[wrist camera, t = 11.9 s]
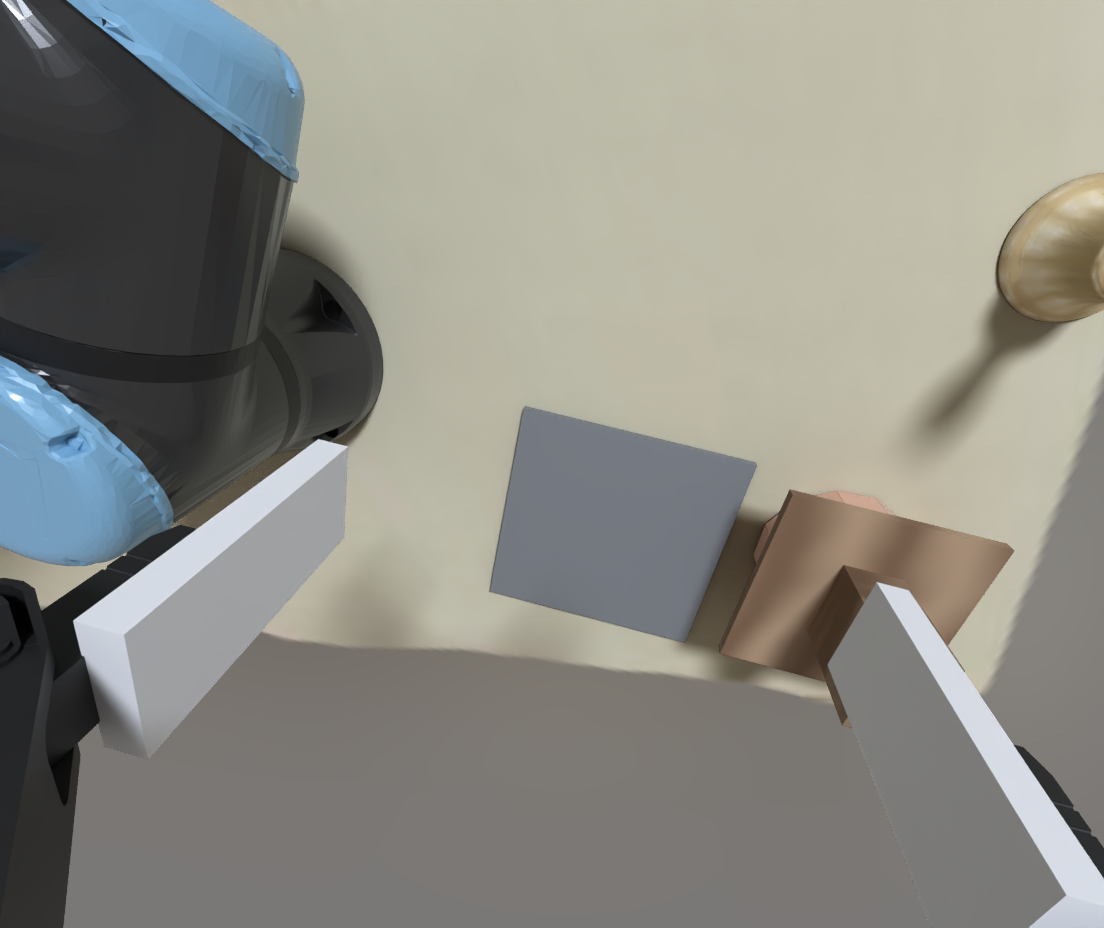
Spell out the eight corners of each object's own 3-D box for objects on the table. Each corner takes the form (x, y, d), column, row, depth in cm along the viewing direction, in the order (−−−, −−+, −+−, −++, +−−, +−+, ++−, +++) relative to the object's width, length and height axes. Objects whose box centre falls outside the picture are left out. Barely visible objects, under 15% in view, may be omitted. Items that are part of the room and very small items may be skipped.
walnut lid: (718, 645, 43) (734, 746, 35) (789, 489, 36) (828, 569, 28) (902, 694, 42) (961, 809, 34) (1007, 543, 36) (1108, 641, 28)
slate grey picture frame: (491, 587, 51) (489, 591, 51) (525, 406, 43) (523, 408, 43) (684, 637, 50) (684, 642, 50) (755, 462, 42) (756, 465, 42)
